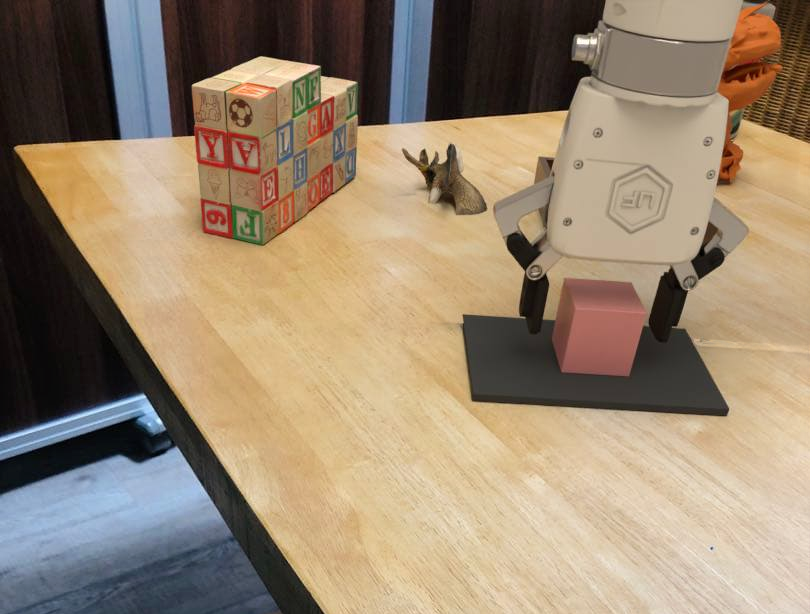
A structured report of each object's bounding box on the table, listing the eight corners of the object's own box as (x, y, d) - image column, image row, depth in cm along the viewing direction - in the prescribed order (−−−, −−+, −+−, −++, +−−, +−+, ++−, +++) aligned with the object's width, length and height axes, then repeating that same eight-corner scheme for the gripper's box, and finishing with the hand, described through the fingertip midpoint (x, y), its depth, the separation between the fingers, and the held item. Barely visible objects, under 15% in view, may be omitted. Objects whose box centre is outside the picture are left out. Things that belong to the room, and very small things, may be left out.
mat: (683, 335, 69) (685, 328, 69) (727, 416, 60) (730, 408, 60) (461, 320, 68) (462, 313, 68) (472, 401, 59) (473, 393, 59)
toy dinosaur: (742, 203, 95) (803, 15, 84) (643, 184, 97) (690, -1, 86) (745, 173, 103) (801, -1, 92) (654, 157, 106) (698, -15, 94)
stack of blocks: (303, 166, 93) (303, 37, 85) (357, 177, 92) (361, 47, 84) (201, 232, 78) (189, 82, 70) (264, 246, 76) (259, 94, 68)
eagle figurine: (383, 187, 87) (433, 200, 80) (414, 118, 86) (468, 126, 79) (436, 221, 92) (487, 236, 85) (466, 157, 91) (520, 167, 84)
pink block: (615, 343, 66) (631, 281, 63) (629, 377, 62) (647, 312, 59) (551, 339, 66) (564, 277, 63) (561, 372, 62) (575, 308, 59)
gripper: (520, 67, 48) (479, 347, 59) (823, 92, 49) (726, 363, 60) (507, 38, 54) (472, 299, 65) (778, 61, 55) (697, 314, 66)
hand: (594, 329), depth 62 cm, fingers open, 8 cm apart
